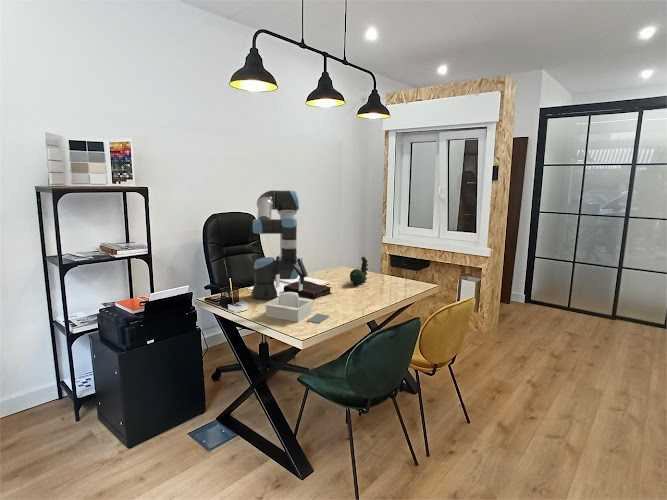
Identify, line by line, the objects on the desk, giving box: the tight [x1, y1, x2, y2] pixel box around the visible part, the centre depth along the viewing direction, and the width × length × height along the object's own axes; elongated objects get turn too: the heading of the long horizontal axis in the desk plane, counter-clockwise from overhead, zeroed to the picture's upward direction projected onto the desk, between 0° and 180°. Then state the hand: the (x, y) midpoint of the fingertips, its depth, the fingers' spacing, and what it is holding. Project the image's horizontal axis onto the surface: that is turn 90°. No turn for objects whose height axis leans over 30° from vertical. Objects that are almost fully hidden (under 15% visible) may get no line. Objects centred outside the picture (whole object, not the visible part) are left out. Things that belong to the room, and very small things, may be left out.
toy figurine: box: [349, 256, 369, 287], centre depth 271 cm, size 9×19×25 cm
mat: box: [306, 313, 330, 324], centre depth 201 cm, size 7×12×1 cm, turn 156°
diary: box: [283, 280, 333, 300], centre depth 247 cm, size 19×25×5 cm
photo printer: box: [278, 291, 300, 308], centre depth 204 cm, size 10×4×12 cm, turn 96°
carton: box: [262, 296, 314, 323], centre depth 205 cm, size 19×19×7 cm
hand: (289, 288), depth 203 cm, fingers open, 13 cm apart
